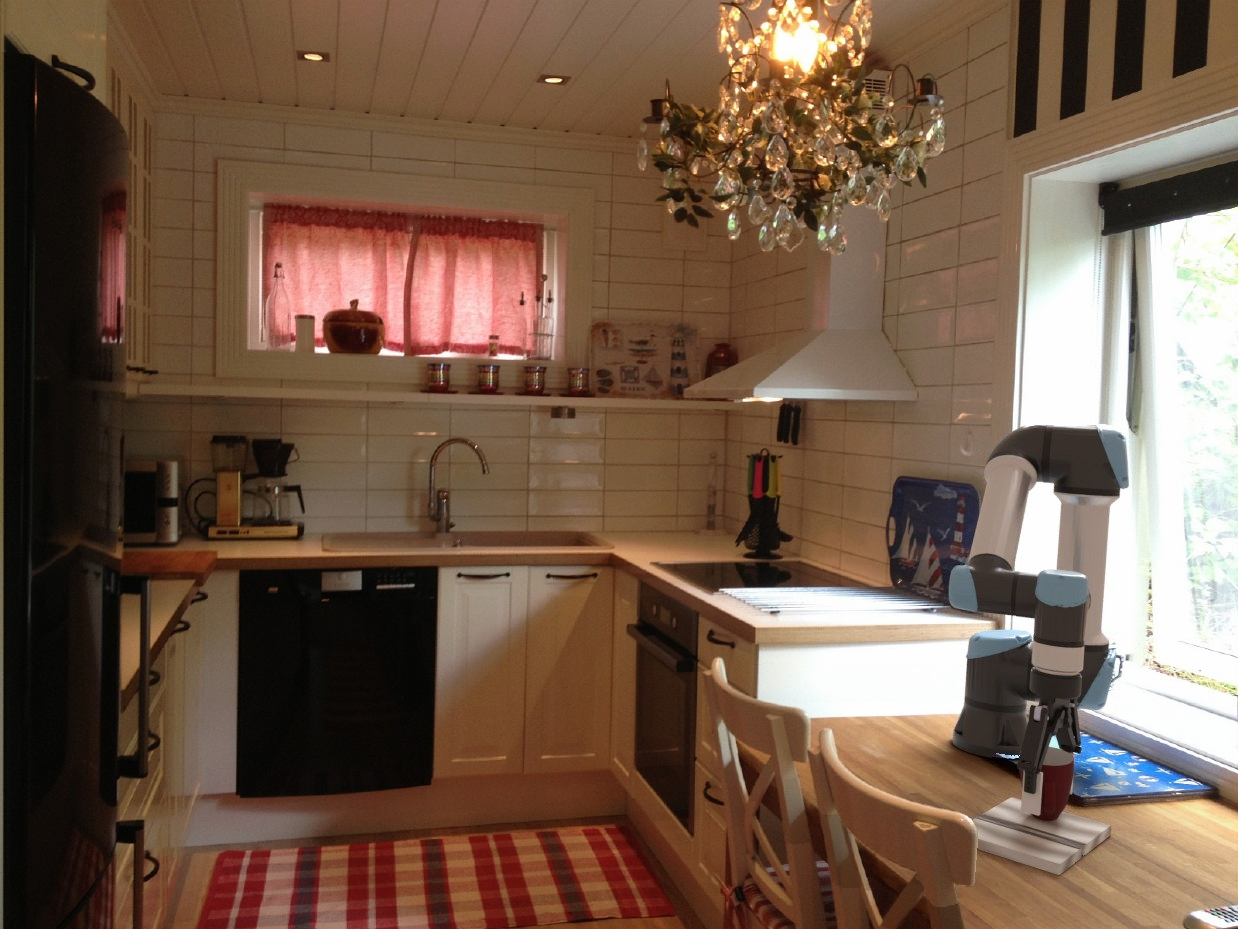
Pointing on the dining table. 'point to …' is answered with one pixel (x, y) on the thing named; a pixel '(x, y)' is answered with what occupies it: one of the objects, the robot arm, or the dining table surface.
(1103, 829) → the plank
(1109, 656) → the robot arm
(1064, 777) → the mug
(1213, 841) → the dining table surface
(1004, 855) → the laid board
